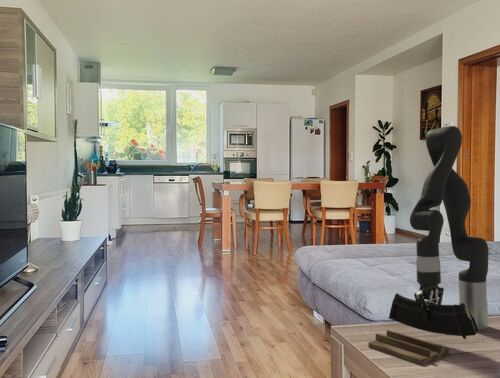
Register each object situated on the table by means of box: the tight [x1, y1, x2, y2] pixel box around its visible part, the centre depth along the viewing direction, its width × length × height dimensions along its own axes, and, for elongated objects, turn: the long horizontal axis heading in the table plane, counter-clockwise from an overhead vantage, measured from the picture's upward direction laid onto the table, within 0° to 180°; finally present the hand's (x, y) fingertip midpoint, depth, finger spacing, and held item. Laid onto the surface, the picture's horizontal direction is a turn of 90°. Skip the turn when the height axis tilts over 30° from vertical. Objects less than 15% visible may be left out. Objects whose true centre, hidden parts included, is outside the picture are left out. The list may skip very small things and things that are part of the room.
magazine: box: [388, 293, 479, 340], centre depth 155 cm, size 17×3×30 cm
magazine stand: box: [367, 329, 449, 366], centre depth 148 cm, size 14×20×4 cm
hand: (430, 319), depth 155 cm, fingers closed on magazine, 3 cm apart
